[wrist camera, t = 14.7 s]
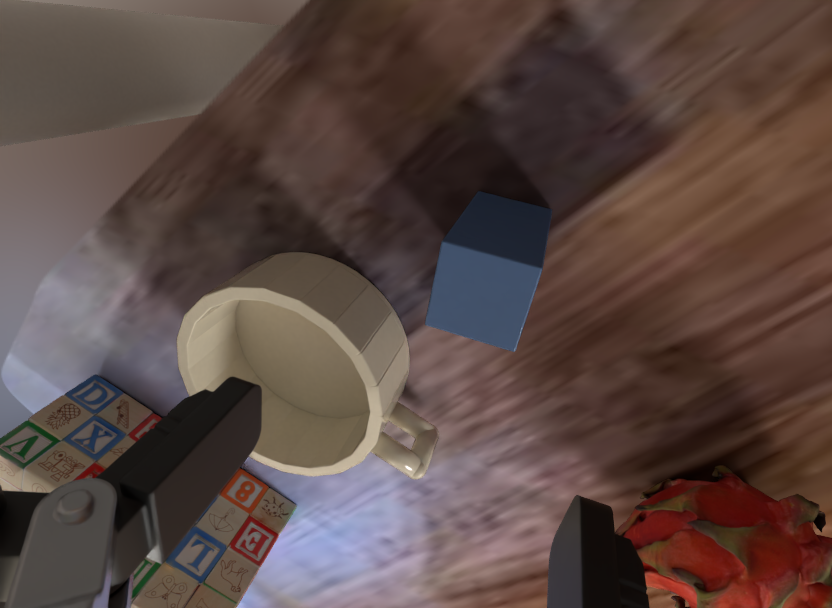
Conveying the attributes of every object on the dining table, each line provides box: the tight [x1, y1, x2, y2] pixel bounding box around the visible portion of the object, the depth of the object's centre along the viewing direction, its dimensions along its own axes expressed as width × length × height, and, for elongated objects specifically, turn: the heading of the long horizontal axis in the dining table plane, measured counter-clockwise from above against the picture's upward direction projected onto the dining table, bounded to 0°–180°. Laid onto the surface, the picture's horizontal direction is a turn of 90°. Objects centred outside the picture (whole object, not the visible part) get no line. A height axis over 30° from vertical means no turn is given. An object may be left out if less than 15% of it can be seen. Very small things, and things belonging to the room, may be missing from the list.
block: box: [425, 191, 552, 352], centre depth 23 cm, size 4×4×8 cm
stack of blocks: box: [0, 375, 297, 608], centre depth 39 cm, size 21×6×12 cm, turn 61°
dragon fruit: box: [615, 465, 832, 608], centre depth 27 cm, size 8×8×12 cm
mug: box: [177, 252, 439, 480], centre depth 31 cm, size 17×14×6 cm
